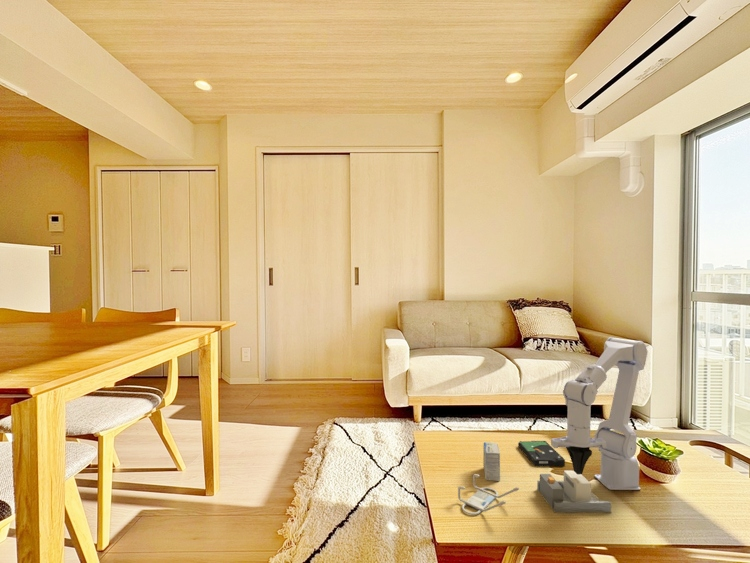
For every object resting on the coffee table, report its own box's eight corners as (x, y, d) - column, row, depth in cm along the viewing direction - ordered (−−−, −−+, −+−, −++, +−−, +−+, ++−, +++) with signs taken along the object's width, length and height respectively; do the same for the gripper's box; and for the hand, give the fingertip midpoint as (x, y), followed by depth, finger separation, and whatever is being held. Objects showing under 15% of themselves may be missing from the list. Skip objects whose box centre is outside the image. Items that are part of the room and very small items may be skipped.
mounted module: (549, 490, 113) (550, 471, 112) (563, 507, 105) (563, 486, 104) (539, 490, 113) (539, 471, 112) (552, 507, 105) (552, 486, 104)
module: (577, 490, 113) (577, 470, 113) (590, 505, 106) (591, 483, 106) (563, 490, 113) (563, 470, 113) (575, 505, 106) (576, 483, 106)
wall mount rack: (478, 485, 117) (478, 466, 117) (523, 503, 108) (523, 482, 108) (451, 508, 105) (451, 487, 105) (499, 530, 96) (500, 507, 96)
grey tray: (587, 489, 114) (587, 480, 114) (611, 512, 103) (611, 503, 103) (537, 489, 114) (537, 480, 114) (555, 512, 103) (555, 502, 103)
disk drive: (565, 468, 128) (545, 447, 143) (565, 459, 128) (545, 440, 143) (534, 468, 128) (517, 447, 143) (535, 460, 128) (517, 440, 143)
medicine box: (500, 481, 118) (500, 453, 118) (485, 480, 119) (485, 452, 119) (497, 469, 126) (497, 442, 126) (483, 467, 127) (483, 441, 127)
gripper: (596, 419, 112) (595, 465, 113) (546, 418, 112) (545, 465, 112) (611, 428, 105) (610, 478, 105) (558, 428, 105) (557, 478, 105)
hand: (577, 472), depth 108 cm, fingers closed
